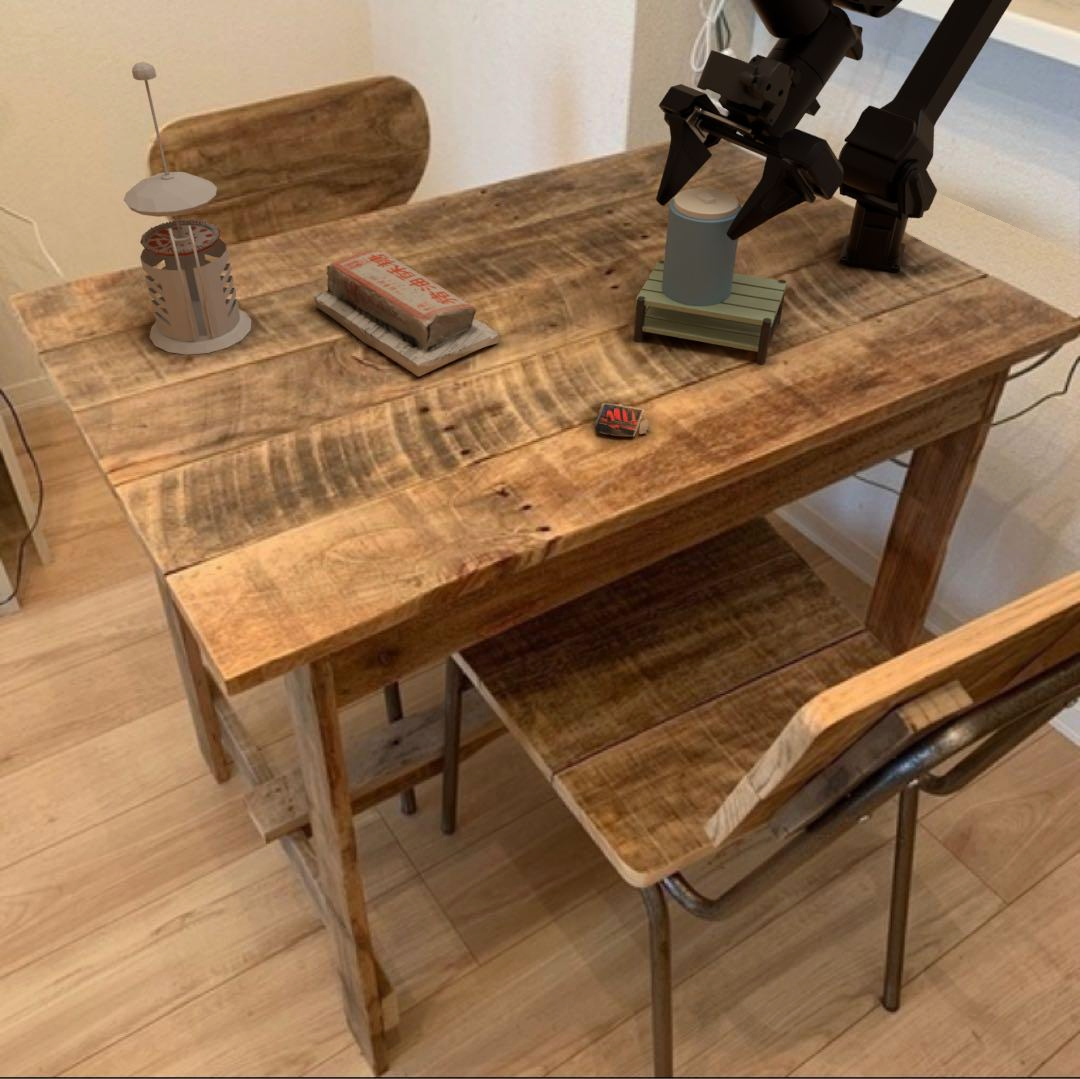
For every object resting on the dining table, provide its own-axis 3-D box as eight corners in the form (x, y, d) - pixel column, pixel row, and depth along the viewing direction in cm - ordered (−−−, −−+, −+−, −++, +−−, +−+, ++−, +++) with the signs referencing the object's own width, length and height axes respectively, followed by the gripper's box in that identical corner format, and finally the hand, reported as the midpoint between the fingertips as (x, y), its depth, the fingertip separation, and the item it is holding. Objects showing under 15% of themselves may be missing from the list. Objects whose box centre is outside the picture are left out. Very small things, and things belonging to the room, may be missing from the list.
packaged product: (305, 264, 105) (388, 236, 110) (312, 308, 109) (392, 279, 114) (414, 334, 95) (500, 299, 100) (418, 380, 98) (501, 344, 103)
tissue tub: (655, 275, 105) (663, 183, 99) (720, 271, 106) (732, 180, 100) (670, 308, 100) (679, 212, 94) (738, 304, 101) (752, 209, 95)
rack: (655, 299, 111) (658, 259, 108) (780, 321, 107) (788, 280, 104) (632, 341, 104) (635, 299, 101) (764, 365, 101) (772, 323, 98)
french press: (243, 297, 110) (194, 40, 94) (262, 353, 102) (212, 81, 86) (144, 313, 107) (76, 51, 91) (156, 371, 99) (83, 94, 83)
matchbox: (595, 438, 92) (596, 433, 91) (594, 404, 95) (594, 400, 95) (650, 438, 92) (650, 434, 91) (646, 405, 95) (646, 401, 95)
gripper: (683, -12, 95) (582, 140, 97) (848, 39, 83) (730, 210, 85) (735, 65, 103) (641, 203, 105) (890, 120, 92) (782, 273, 94)
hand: (693, 220), depth 97 cm, fingers open, 9 cm apart
